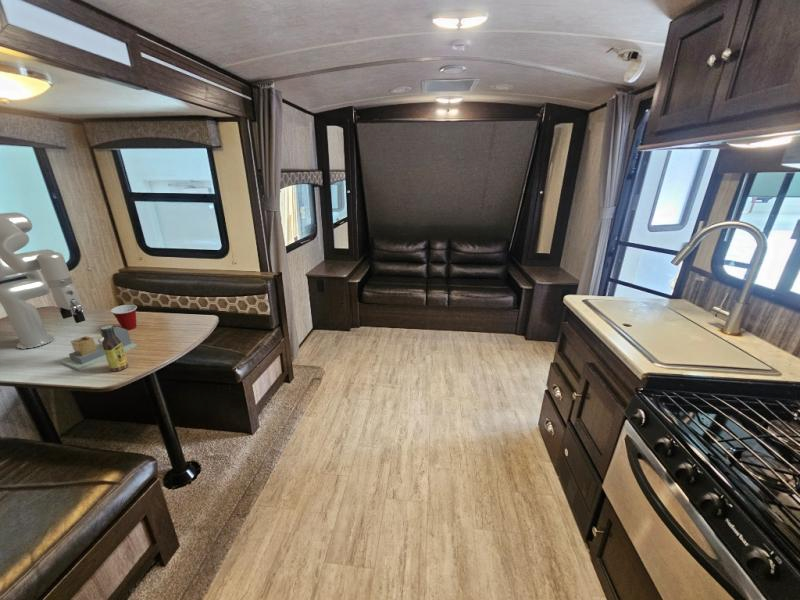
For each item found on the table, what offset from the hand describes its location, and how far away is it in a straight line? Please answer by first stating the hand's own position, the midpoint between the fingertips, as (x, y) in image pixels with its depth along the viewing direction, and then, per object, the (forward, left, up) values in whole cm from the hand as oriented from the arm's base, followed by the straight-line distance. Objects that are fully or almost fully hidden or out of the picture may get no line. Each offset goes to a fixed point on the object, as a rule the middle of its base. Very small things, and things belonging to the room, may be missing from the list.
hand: (74, 319), depth 141 cm
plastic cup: (-17, +27, -20) cm, 37 cm away
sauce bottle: (+20, +2, -20) cm, 29 cm away
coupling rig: (0, +5, -20) cm, 21 cm away
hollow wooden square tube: (0, 0, -16) cm, 16 cm away
